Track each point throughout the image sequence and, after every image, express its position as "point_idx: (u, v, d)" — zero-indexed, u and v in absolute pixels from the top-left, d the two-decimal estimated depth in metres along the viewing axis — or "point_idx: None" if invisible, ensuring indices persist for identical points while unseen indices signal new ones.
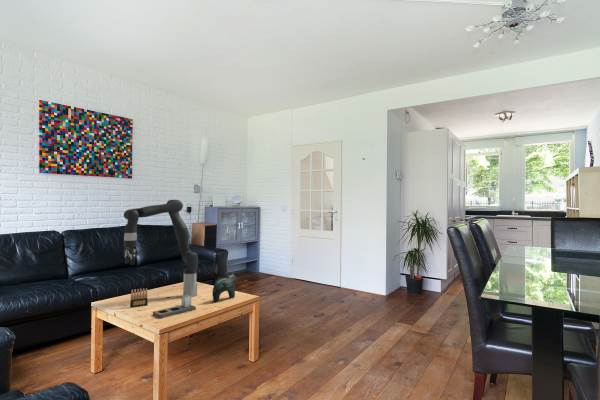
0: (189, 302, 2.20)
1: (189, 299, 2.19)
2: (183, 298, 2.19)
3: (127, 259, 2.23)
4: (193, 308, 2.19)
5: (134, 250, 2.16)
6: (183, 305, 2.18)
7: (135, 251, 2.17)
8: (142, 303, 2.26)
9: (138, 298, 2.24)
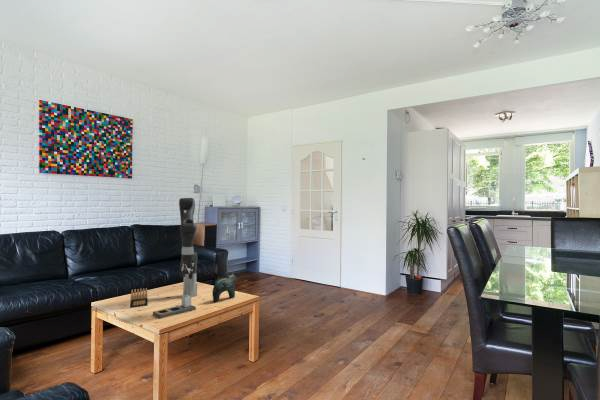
0: (189, 302, 2.20)
1: (189, 299, 2.19)
2: (183, 298, 2.19)
3: (183, 273, 2.23)
4: (193, 308, 2.19)
5: (192, 264, 2.16)
6: (183, 305, 2.18)
7: (193, 265, 2.17)
8: (142, 303, 2.26)
9: (138, 298, 2.24)
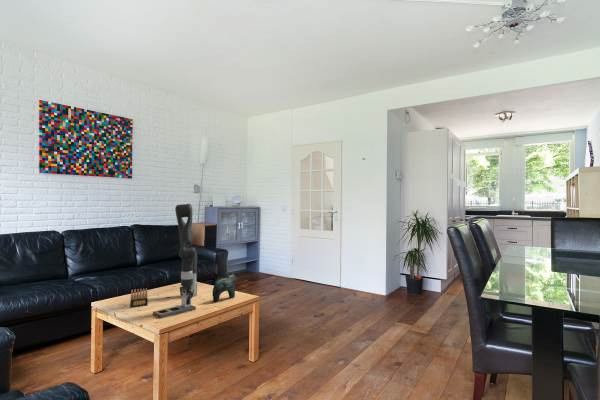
0: None
1: None
2: (183, 298, 2.19)
3: None
4: (193, 308, 2.19)
5: (191, 291, 2.16)
6: (183, 305, 2.18)
7: (192, 292, 2.17)
8: (142, 303, 2.26)
9: (138, 298, 2.24)
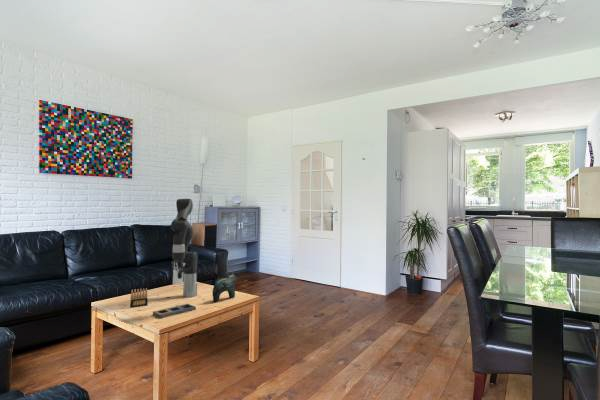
0: None
1: None
2: (175, 272, 2.14)
3: None
4: (193, 308, 2.19)
5: (183, 264, 2.11)
6: (175, 279, 2.13)
7: (184, 265, 2.12)
8: (142, 303, 2.26)
9: (138, 298, 2.24)
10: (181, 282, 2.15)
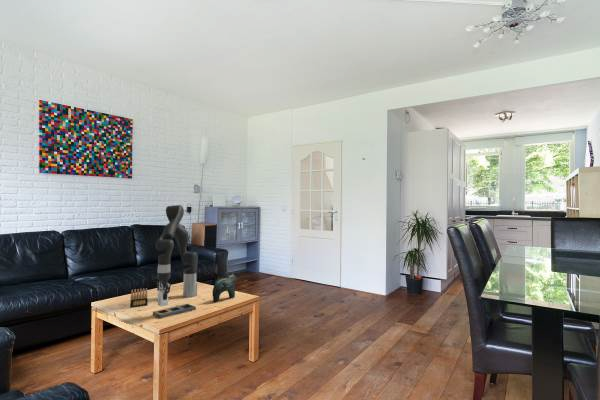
0: None
1: None
2: (159, 293, 2.06)
3: None
4: (193, 308, 2.19)
5: (168, 285, 2.04)
6: (159, 300, 2.06)
7: (169, 286, 2.05)
8: (142, 303, 2.26)
9: (138, 298, 2.24)
10: (166, 303, 2.07)
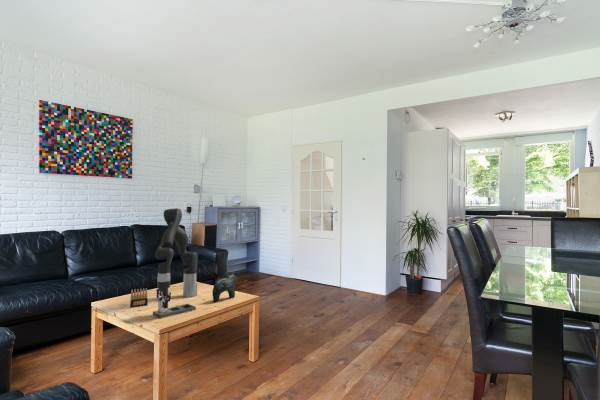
0: None
1: None
2: (159, 303, 2.06)
3: None
4: (193, 308, 2.19)
5: (168, 293, 2.04)
6: (159, 310, 2.06)
7: (169, 294, 2.04)
8: (142, 303, 2.26)
9: (138, 298, 2.24)
10: None
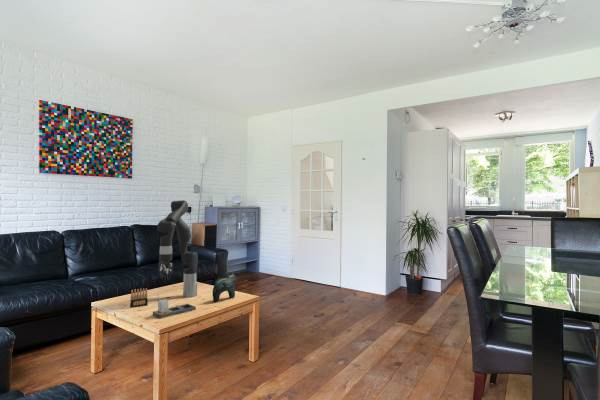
0: (166, 307, 2.07)
1: (166, 304, 2.07)
2: (159, 303, 2.06)
3: (162, 273, 2.13)
4: (193, 308, 2.19)
5: (171, 264, 2.07)
6: (159, 310, 2.06)
7: (172, 265, 2.07)
8: (142, 303, 2.26)
9: (138, 298, 2.24)
10: None
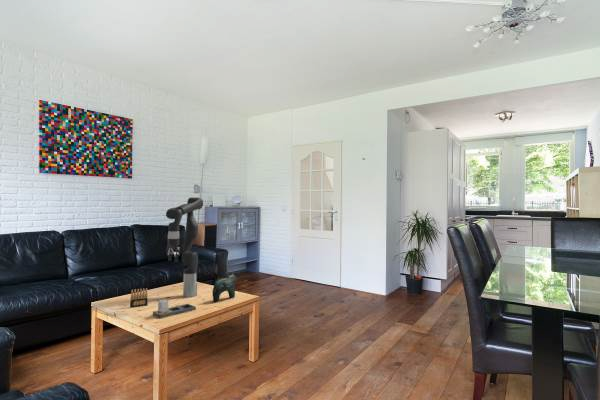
0: (166, 307, 2.07)
1: (166, 304, 2.07)
2: (159, 303, 2.06)
3: (170, 257, 2.32)
4: (193, 308, 2.19)
5: (178, 248, 2.25)
6: (159, 310, 2.06)
7: (179, 249, 2.25)
8: (142, 303, 2.26)
9: (138, 298, 2.24)
10: None
